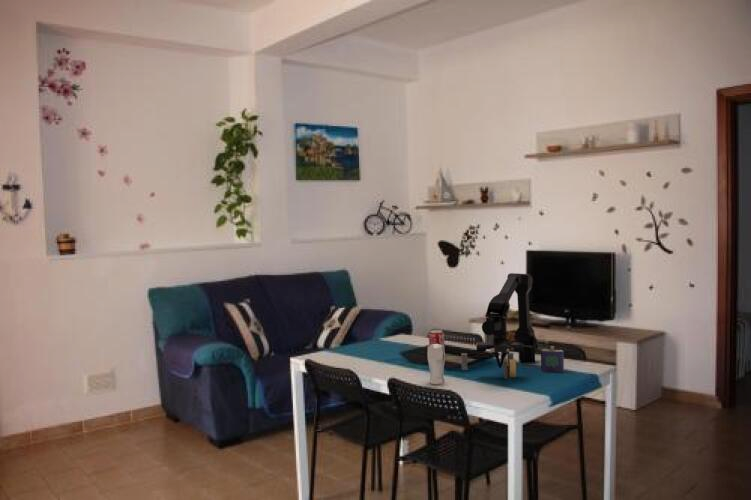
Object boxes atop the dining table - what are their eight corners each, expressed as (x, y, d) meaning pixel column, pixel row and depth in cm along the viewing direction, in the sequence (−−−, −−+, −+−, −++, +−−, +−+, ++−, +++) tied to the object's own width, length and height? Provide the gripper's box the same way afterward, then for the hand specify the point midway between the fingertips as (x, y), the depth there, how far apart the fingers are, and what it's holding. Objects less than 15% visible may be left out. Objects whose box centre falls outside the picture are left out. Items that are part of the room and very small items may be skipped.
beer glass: (427, 380, 256) (425, 344, 254) (443, 379, 256) (442, 343, 255) (429, 385, 249) (428, 348, 247) (447, 384, 249) (446, 347, 248)
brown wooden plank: (503, 367, 268) (503, 354, 268) (508, 367, 268) (508, 354, 267) (504, 378, 253) (504, 364, 252) (510, 378, 252) (509, 364, 252)
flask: (563, 370, 262) (563, 345, 261) (564, 372, 259) (563, 347, 258) (541, 370, 264) (540, 345, 263) (540, 372, 261) (540, 346, 260)
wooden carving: (497, 351, 296) (497, 331, 295) (498, 349, 301) (497, 328, 300) (533, 352, 292) (533, 331, 292) (533, 350, 297) (532, 329, 296)
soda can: (444, 354, 295) (443, 329, 294) (444, 358, 288) (444, 332, 287) (429, 354, 296) (428, 329, 295) (429, 358, 289) (428, 333, 288)
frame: (512, 368, 268) (512, 352, 268) (516, 377, 255) (516, 361, 254) (461, 368, 270) (461, 353, 270) (462, 377, 257) (462, 361, 257)
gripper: (476, 334, 247) (477, 373, 249) (524, 334, 244) (525, 373, 246) (476, 328, 258) (476, 365, 260) (522, 328, 255) (522, 365, 257)
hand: (500, 367), depth 255 cm, fingers closed
